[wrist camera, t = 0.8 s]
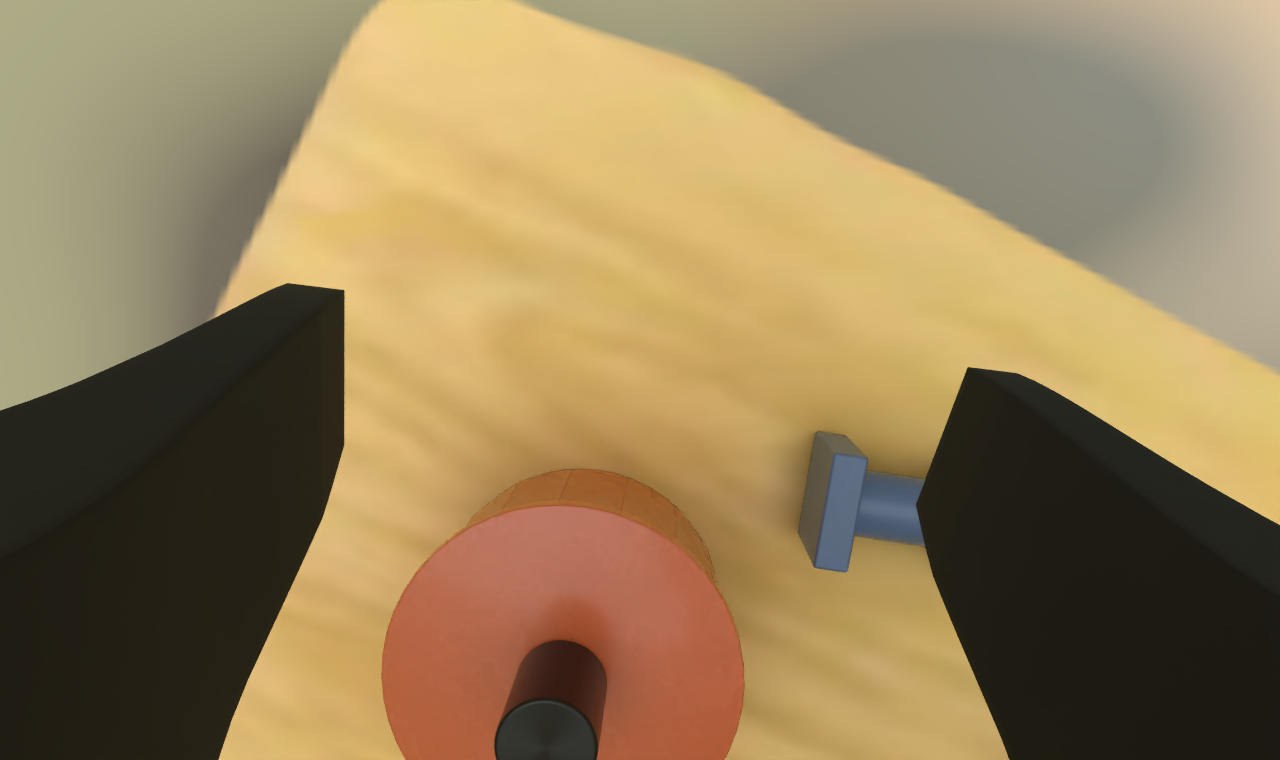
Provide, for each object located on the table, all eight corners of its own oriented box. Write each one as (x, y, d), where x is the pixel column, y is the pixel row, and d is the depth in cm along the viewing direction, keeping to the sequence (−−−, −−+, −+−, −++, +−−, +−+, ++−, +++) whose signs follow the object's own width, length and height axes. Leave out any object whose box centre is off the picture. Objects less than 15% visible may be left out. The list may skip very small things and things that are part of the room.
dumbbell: (1004, 458, 30) (1047, 484, 26) (983, 562, 30) (1023, 600, 27) (815, 430, 30) (834, 452, 27) (797, 533, 30) (813, 568, 27)
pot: (695, 747, 31) (700, 848, 26) (432, 707, 31) (384, 800, 26) (737, 490, 30) (752, 541, 25) (464, 449, 30) (421, 491, 25)
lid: (711, 851, 27) (720, 970, 22) (374, 798, 27) (316, 907, 22) (767, 523, 25) (789, 580, 21) (413, 469, 26) (360, 515, 21)
